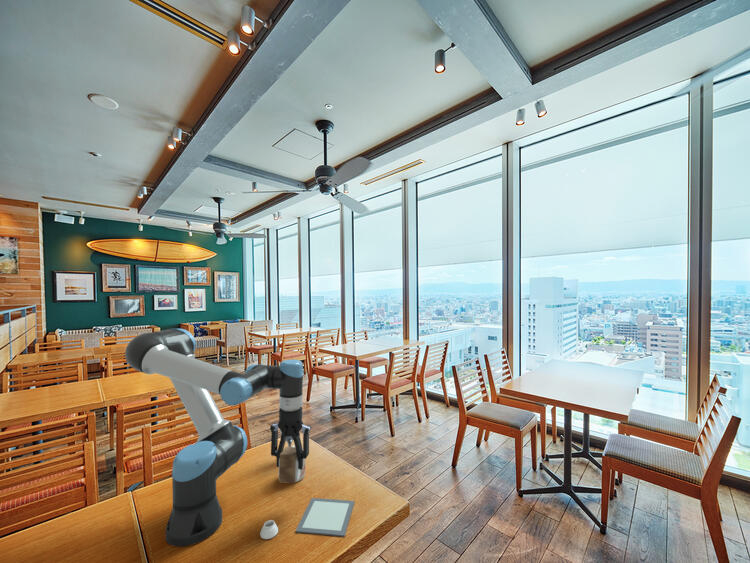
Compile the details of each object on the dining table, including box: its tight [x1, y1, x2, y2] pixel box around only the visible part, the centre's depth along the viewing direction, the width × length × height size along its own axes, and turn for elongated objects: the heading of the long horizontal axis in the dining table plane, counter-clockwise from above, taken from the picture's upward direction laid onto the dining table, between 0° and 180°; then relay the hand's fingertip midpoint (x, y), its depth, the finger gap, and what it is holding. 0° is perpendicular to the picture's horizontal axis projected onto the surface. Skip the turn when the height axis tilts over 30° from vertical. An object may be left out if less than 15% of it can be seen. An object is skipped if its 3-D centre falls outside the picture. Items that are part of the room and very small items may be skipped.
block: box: [278, 446, 298, 484], centre depth 106 cm, size 5×5×9 cm
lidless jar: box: [259, 519, 279, 540], centre depth 94 cm, size 5×3×5 cm
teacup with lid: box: [291, 444, 306, 483], centre depth 124 cm, size 12×9×12 cm
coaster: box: [295, 497, 355, 537], centre depth 101 cm, size 15×15×1 cm
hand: (289, 477), depth 106 cm, fingers closed on block, 5 cm apart
